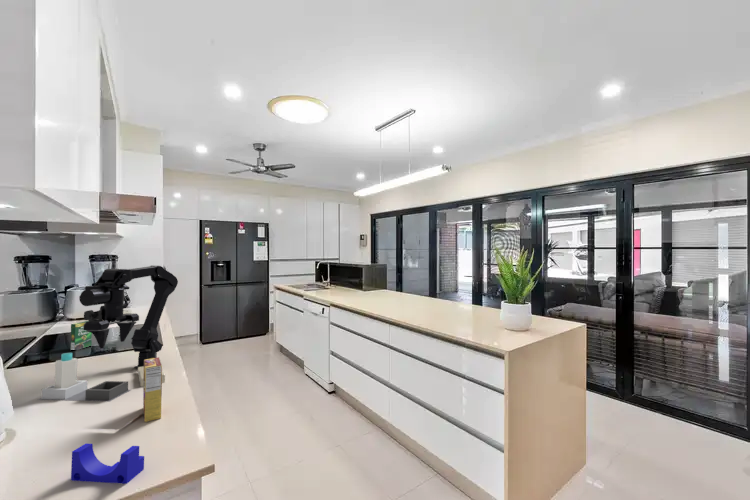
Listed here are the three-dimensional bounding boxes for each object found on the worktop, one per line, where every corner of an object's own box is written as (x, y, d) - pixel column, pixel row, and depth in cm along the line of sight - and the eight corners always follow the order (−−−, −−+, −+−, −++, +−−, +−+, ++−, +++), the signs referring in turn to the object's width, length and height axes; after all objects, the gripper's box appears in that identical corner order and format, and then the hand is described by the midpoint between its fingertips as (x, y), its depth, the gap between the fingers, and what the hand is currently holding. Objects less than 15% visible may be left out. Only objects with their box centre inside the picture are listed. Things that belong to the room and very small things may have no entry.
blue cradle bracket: (143, 470, 70) (144, 442, 70) (126, 484, 66) (127, 454, 66) (91, 467, 71) (92, 439, 71) (70, 481, 66) (72, 451, 67)
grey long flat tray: (64, 390, 110) (65, 379, 110) (131, 392, 110) (132, 380, 110) (36, 402, 101) (37, 389, 101) (109, 404, 101) (109, 391, 101)
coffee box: (74, 351, 155) (75, 323, 155) (69, 351, 155) (70, 323, 155) (92, 347, 162) (93, 320, 163) (87, 346, 163) (88, 320, 163)
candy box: (141, 410, 97) (143, 359, 97) (159, 407, 99) (160, 356, 100) (142, 423, 90) (144, 367, 90) (161, 418, 92) (163, 364, 93)
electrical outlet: (160, 361, 131) (165, 374, 117) (159, 371, 131) (165, 385, 117) (138, 364, 126) (140, 378, 112) (137, 375, 126) (140, 390, 112)
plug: (69, 390, 108) (71, 351, 109) (76, 392, 107) (78, 352, 107) (54, 395, 105) (55, 354, 105) (60, 397, 103) (62, 356, 103)
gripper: (113, 299, 130) (111, 338, 130) (68, 305, 112) (66, 351, 111) (140, 299, 130) (139, 338, 130) (100, 306, 111) (98, 352, 111)
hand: (112, 344), depth 120 cm, fingers open, 9 cm apart
